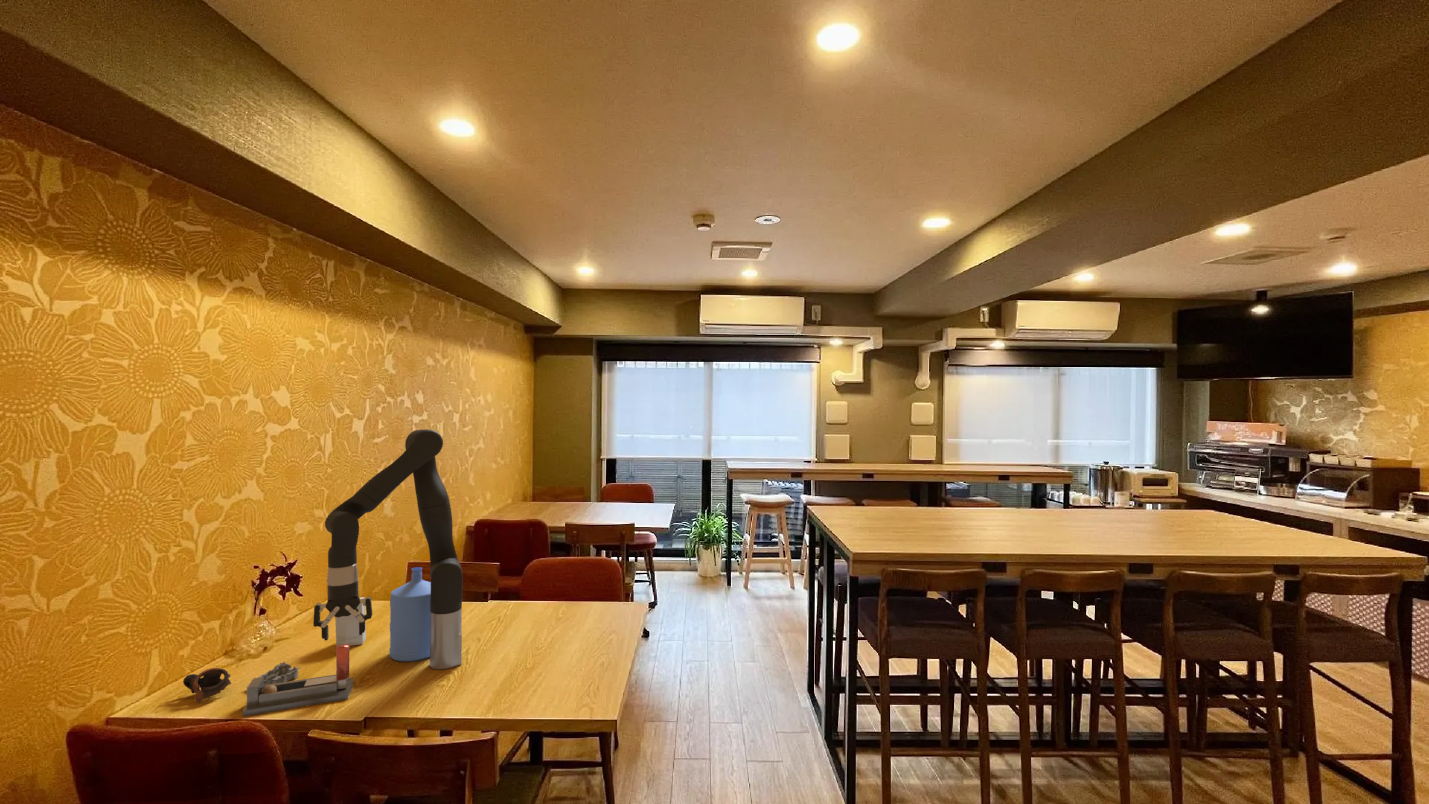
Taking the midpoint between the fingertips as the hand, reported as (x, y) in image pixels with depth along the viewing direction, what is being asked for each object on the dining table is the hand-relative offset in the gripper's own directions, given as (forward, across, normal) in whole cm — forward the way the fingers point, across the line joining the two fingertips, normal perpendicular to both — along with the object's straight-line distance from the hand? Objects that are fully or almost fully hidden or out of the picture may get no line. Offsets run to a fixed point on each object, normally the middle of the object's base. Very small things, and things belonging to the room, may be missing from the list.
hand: (343, 636), depth 173 cm
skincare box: (+16, +3, -39) cm, 43 cm away
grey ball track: (+16, +10, 0) cm, 19 cm away
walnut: (+14, +18, 0) cm, 23 cm away
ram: (+14, +4, 0) cm, 15 cm away
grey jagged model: (+16, +19, -15) cm, 29 cm away
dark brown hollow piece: (+15, +35, -13) cm, 41 cm away
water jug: (+16, -18, -22) cm, 33 cm away
